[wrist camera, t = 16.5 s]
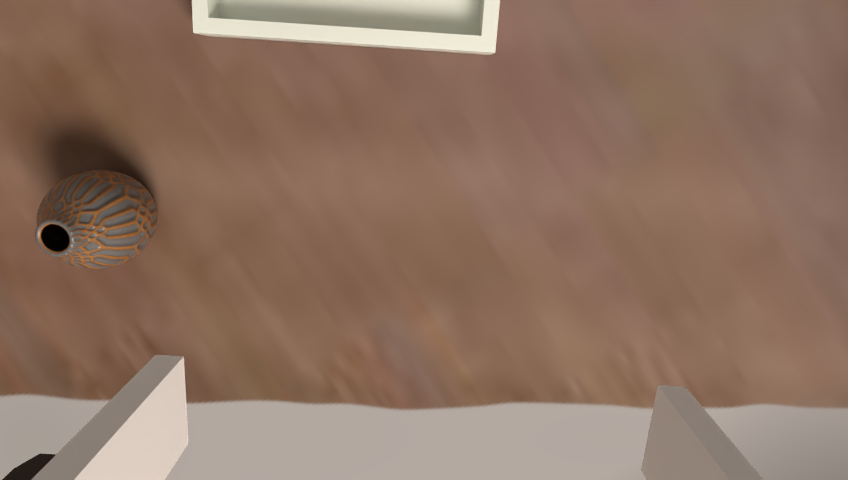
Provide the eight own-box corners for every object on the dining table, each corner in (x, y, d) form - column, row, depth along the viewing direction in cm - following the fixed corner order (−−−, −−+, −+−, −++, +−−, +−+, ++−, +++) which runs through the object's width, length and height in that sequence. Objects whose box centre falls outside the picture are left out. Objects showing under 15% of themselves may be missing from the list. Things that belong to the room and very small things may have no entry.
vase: (158, 157, 43) (91, 176, 34) (180, 245, 44) (122, 283, 36) (69, 170, 43) (-18, 191, 34) (96, 256, 45) (18, 296, 36)
